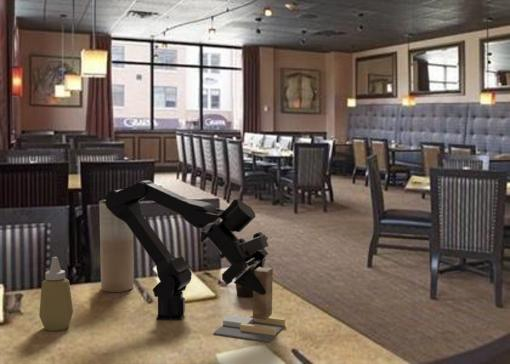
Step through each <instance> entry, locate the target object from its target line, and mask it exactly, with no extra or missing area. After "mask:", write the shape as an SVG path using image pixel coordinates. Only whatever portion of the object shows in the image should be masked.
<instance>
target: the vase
mask: <svg viewBox="0 0 510 364" xmlns="http://www.w3.org/2000/svg"><path fill="white" fill-rule="evenodd" d="M98 203H99V240H100V241H99V243H100V244H99V246H100V247H99V249H100V287H101V290H102V292H106V293H123V292H127V291H130V289H131V290H132V289H133V288H134V234H133V232H132V231H131V229H130V228H129V227H128V225H127V224H126V223H125V222H124V221H122V220H120V219H119V218H117V217H115V216H114V215H113V214H112V213H111V212H110V211H109V210H108V209H107V207H106V205H105V199H101V200H99V202H98Z"/></svg>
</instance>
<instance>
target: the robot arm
mask: <svg viewBox="0 0 510 364" xmlns="http://www.w3.org/2000/svg"><path fill="white" fill-rule="evenodd" d="M143 199H147V200H149V201H152V202H154V203H156V204H158V205H160V206H162V207H165V208H166V209H168V210H171V211H173V212H175V213H177V214H179V215H180V216H181V217H182V218H183V219H184V221H186V222H187V223H189V225H191V226H192V227H194V228H196V229H203V228H205V227H208V226H209V228H208V229H205V230H202V231H200V234H201V236H200V243H204V242H207V241H208V240H209V241H210V242H211V243H212V244H213V245H214V247H215V248H216V249H217V251H219V253H220V254H219V258H220V259H225V261H227V262H228V264H229V265H230V266H229V267H228V268H227V269H225V270H224V271H223V273H222V274H221V280H222V281H223V282H224V284H225V286H228V285H230V284H231V283H232V282H233V283H234V284H235V285H236V284H239V285H241V286H244V287H246V288H248V289H251V290H253V291H255V292H257V293H259V294H261V295H264V294H265V293H266V291H265V289H264V288H263V286H262V285H261V283H260V282H259V280H258V279H257V277H256V276H255V274H254V270H255V269H257V268H258V267H265V262H266V257H267V256H269V252H267V250H266V248H267V247H269V246H270V245H269V243H268V236H266V234H263V232H261V231H259V232H256V233H254V234H253V235H252V238H251V239H249V240H247V241H246V240H245V238H241V237H240V238H238V237H237V236H236V234H235V232H236V233H241V231H243V230H244V229H245V228H246V227H247V226H248V225H249V224H250V223H251V222H252V221H254V220H255V218H256V212H255V211H254V209H252V207H251V206H250V205H249V204H246V203H245V202H243V201H241V199H240V198H234V199H233V201H232V202H231V203H230V204H229V206H227V207H226V208H225V209H222V208H221V209H220V208H217V207H216V206H215V204H213V203H211V202H206V201H201V200H195V199H190V198H187V197H185V196H182V195H180V194H178V193H176V192H174V191H172V190H169V189H167V188H166V187H163V186H161V185H158V184H156V183H154V182H153V181H152V180H149V179H148V180H141V181H138V182H136V183H135V184H132V185H130V186H128V187H125V188H123V189H115V190H112V191H111V190H110V191H109V192H108V193H107V194H106V196H105V199H104V200H105V205H106V207H107V209H108V210H109V211H110V212H111V213H112V214H113V215H114V216H115V217H117V218H119V219H120V220H122V221H124V222H125V223H126V224H127V225H128V227H129V228H130V229H131V231H132V232H133V236H135V238H136V239H137V240H138V242H139V244H140V245H141V246H142V248H143V249H144V250H145V252H146V254H147V255H148V257H150V258H151V260H152V261H153V263H154V264H155V265H154V266H155V267H156V275H157V278H158V279H159V282H158V283H157V284H156V285H155V286H154V287H153V288H152V292H153V295H154V297H156V298H157V315H156V318H155V319H156V320H181V319H182V317H183V316H184V315H185V313H186V298H185V297H184V296H183V295H184V294H183V293H184V292H183V291H186V289H187V286H188V285H189V284H190V283H191V281H192V275H193V274H192V270H191V265H189V264H188V263H187V261H185V258H184V257H183V256H182V255H180V256H177V257H176V256H174V255H173V254H171V252H170V251H169V250H168V249H167V247H166V245H165V244H164V243H163V241H162V240H161V239H160V237H159V236H158V235H157V233H156V232H155V231H154V229H153V228H152V226H151V225H150V223H149V222H148V221H147V219H146V218H145V217H144V215H143V214H142V212H141V211H142V210H141V204H140V200H143ZM219 221H220V222H219ZM216 222H219V223H218V224H217V223H216ZM235 277H236V278H237V280H236V281H233V280H235Z"/></svg>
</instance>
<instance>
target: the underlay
mask: <svg viewBox="0 0 510 364" xmlns="http://www.w3.org/2000/svg"><path fill="white" fill-rule="evenodd" d="M285 326H286V318H284V317H283V318H282V317H277V316H276V317H275V316H270V317H268V318H267V319H266V320H263V319H256V318H253V313H252V314H251V315H250V317H247V316H241V315H240V316H239V315H232V314H230V315H228V316H227V317H226V318H225V319H223V320H222V325H221V326H220V327H218V328H217V329H216V330H215V331H214V332H213V334H212V335H217V336H223V337H229V338H237V339H241V340H250V341H257V342H262V343H263V342H264V343H271V341H272V340H273V339H274V338H275V337H276V336H277V335H278V334H279V333H280V332H281V331H282V330H283V329H284V328H285Z"/></svg>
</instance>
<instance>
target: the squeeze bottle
mask: <svg viewBox="0 0 510 364" xmlns="http://www.w3.org/2000/svg"><path fill="white" fill-rule="evenodd" d="M44 275H45V277H44V278H45V279H44V280H43V281H42V282H41V288H40V289H41V291H40V300H39V301H40V302H39V314H38V316H39V318H40V321H41V324H42V326H43V328H44V329H45V331H46V330H47V331H49V332H50V331H51V332H57V331H63V330H65V329H67V328H68V327H69V326H70V323H71V320H72V317H73V314H74V313H73V312H74V308H73V300H72V293H71V292H72V291H71V286H70V280H69V279H68V278H66V271H65V270H63V269H61V266H60V261H59V259H58V256H52V258H51V264H50V268H49V270H47V271H45V274H44Z"/></svg>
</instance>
